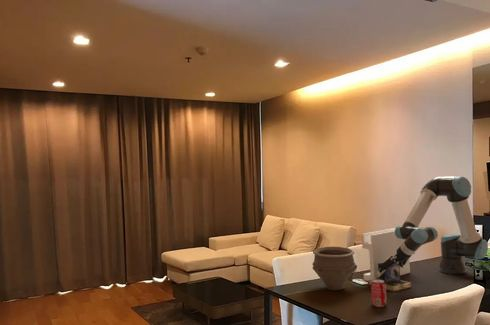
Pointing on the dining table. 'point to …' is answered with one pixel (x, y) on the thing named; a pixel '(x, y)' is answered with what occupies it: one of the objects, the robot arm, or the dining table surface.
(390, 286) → the tray
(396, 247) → the block
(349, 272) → the planter
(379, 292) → the soda can
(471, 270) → the dining table surface
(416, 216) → the robot arm
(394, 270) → the small box
